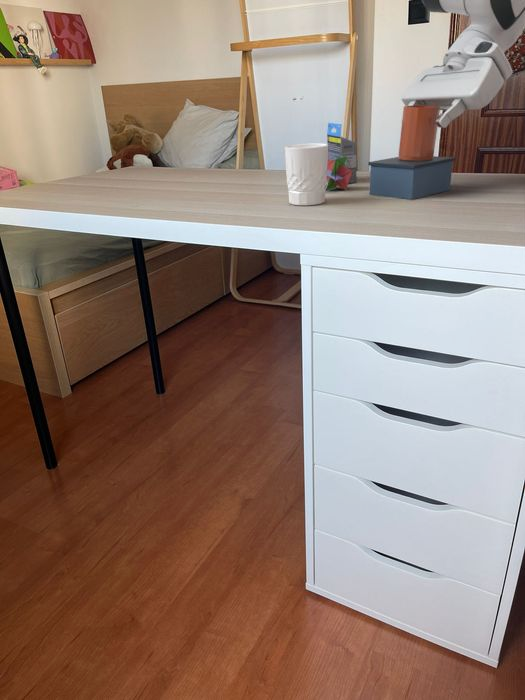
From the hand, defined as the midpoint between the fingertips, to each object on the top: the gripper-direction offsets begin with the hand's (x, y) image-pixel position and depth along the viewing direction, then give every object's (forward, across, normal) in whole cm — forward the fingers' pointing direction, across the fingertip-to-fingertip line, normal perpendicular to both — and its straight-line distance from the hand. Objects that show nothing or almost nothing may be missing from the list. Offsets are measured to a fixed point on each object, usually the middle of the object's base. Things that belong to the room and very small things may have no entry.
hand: (421, 124), depth 97 cm
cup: (+4, -1, +4) cm, 6 cm away
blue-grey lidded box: (+9, -1, +8) cm, 12 cm away
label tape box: (+11, -22, +6) cm, 26 cm away
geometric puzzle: (+16, -13, +2) cm, 21 cm away
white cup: (+24, -5, -6) cm, 25 cm away
